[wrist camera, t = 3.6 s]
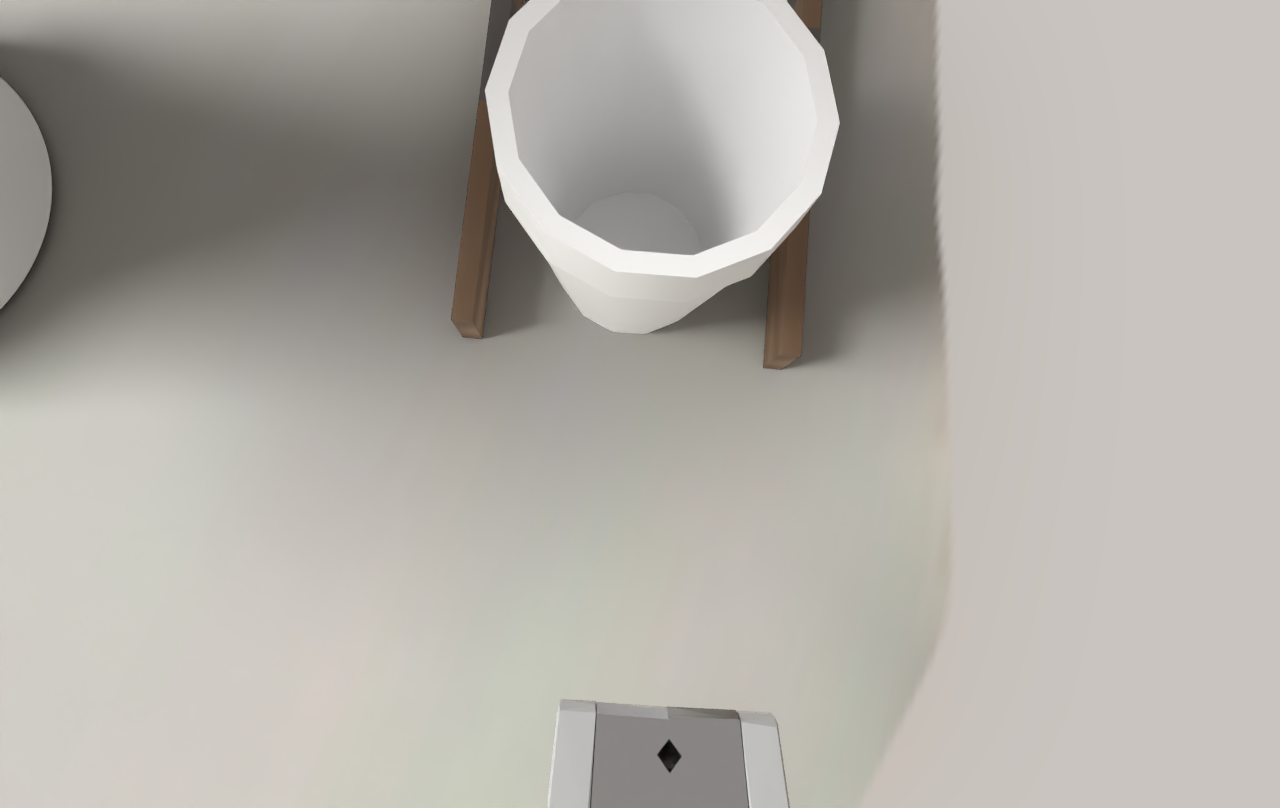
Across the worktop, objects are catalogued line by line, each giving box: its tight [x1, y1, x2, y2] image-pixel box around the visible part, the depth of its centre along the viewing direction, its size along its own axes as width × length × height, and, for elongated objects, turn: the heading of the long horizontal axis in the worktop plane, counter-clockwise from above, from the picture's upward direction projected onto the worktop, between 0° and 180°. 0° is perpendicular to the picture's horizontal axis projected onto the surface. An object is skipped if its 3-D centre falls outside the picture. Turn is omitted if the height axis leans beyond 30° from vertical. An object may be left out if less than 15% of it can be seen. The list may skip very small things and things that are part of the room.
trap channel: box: [451, 0, 822, 370], centre depth 33 cm, size 14×28×3 cm, turn 175°
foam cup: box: [485, 0, 840, 334], centre depth 27 cm, size 10×9×13 cm
